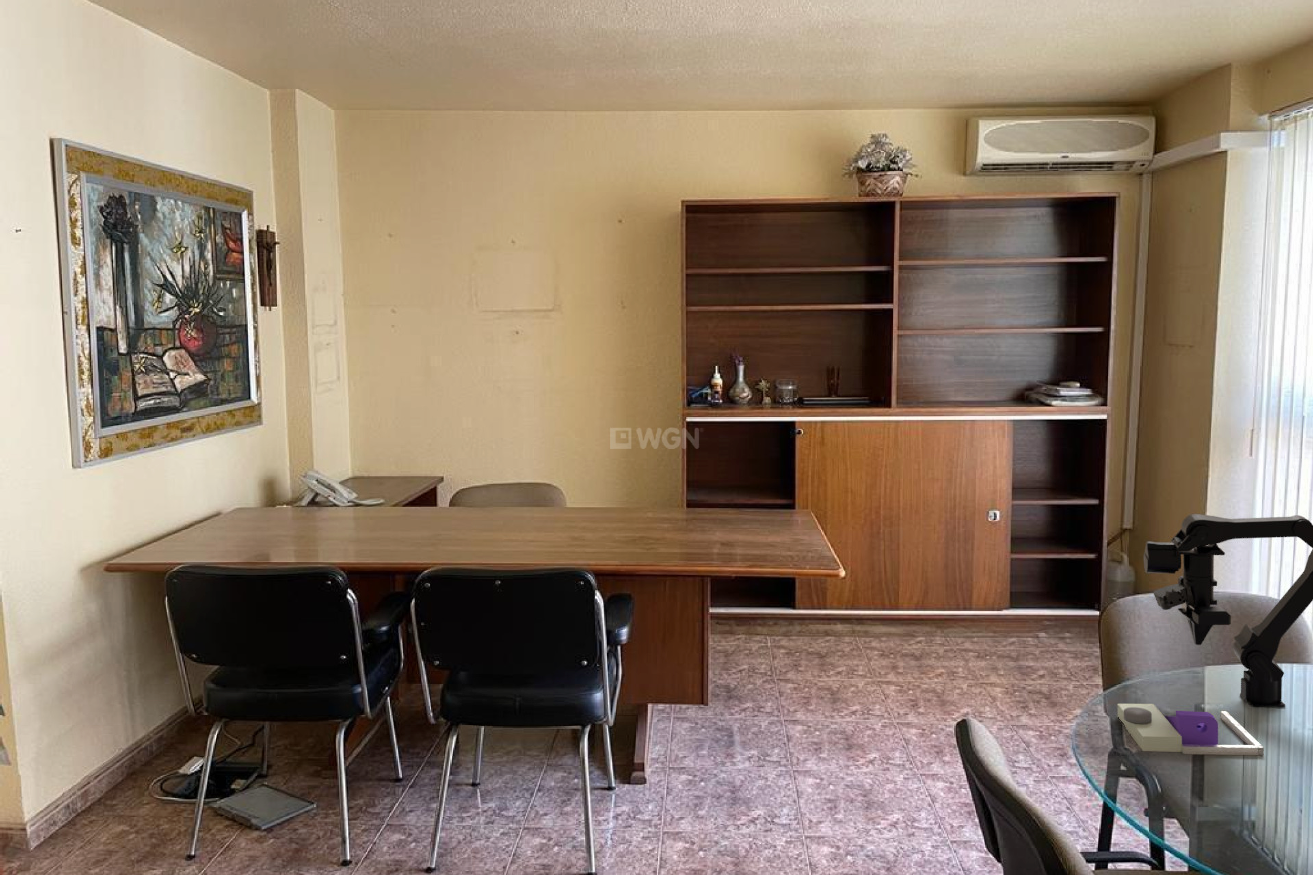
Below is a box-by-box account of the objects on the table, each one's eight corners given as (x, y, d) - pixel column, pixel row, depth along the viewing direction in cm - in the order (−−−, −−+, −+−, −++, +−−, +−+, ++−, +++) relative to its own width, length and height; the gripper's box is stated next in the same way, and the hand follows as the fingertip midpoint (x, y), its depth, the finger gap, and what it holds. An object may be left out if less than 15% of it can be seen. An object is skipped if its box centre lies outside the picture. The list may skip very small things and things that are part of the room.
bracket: (1217, 750, 184) (1218, 716, 184) (1178, 748, 186) (1178, 714, 186) (1200, 724, 196) (1200, 692, 195) (1163, 722, 198) (1163, 691, 197)
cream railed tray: (1226, 718, 197) (1226, 697, 197) (1263, 755, 181) (1263, 732, 180) (1112, 717, 201) (1112, 696, 201) (1138, 753, 184) (1138, 730, 184)
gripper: (1143, 563, 216) (1143, 630, 218) (1173, 586, 197) (1173, 659, 199) (1197, 562, 214) (1196, 630, 216) (1232, 585, 196) (1231, 659, 197)
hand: (1197, 644), depth 207 cm, fingers closed
